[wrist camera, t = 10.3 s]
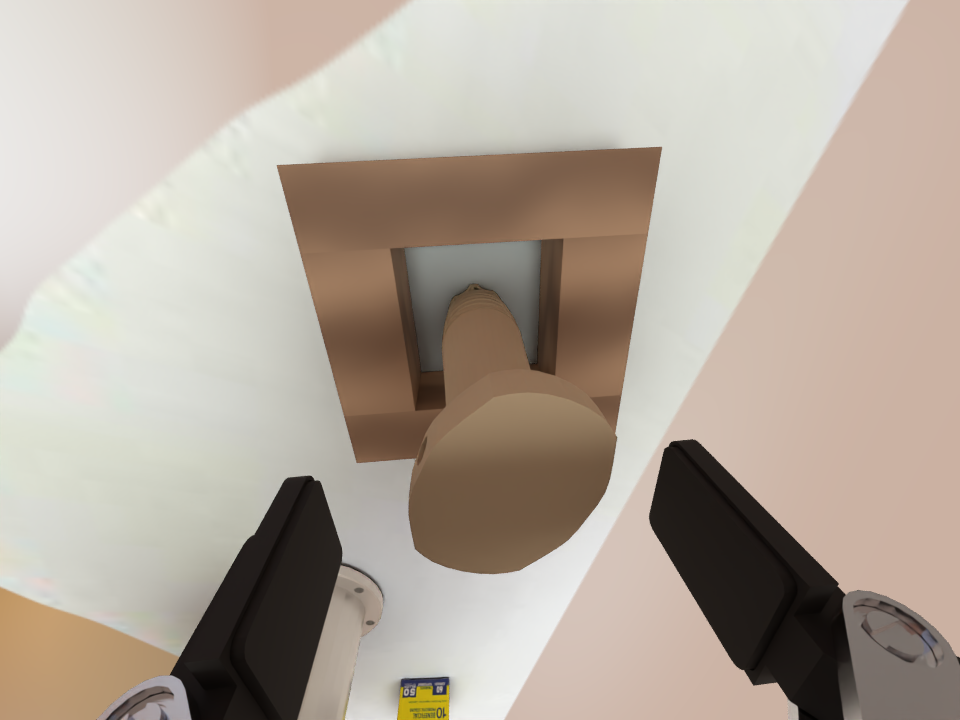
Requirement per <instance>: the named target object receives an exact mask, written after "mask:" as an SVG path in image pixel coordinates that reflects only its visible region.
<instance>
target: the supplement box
mask: <svg viewBox="0 0 960 720" xmlns="http://www.w3.org/2000/svg"><path fill="white" fill-rule="evenodd" d="M397 720H449V678H441V679H418V680H410V679H402V680H401V689H400V699H399V708H398V717H397Z"/></svg>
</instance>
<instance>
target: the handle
mask: <svg viewBox="0 0 960 720" xmlns="http://www.w3.org/2000/svg"><path fill="white" fill-rule="evenodd" d="M442 357H443V369H444V382H445V396H446V407H445V408H444V409H443V410H442V411H441V412H440V413H439V415H438V416H437V417H436V418H435V419H434V420H433V422H432V423H431V425H430V427H429V428H428V430H427V432H426V433H425V436H424V439H423V441H422V444H421V447H420V450H419V452H418V455H417V458H416V460H415V464H414V467H413V470H412V477H411V484H410V493H409V521H410V527H411V532H412V537H413V542H414V546H415V549H416V550H417V551H418V552H419V553H421V554H422V555H423V556H424V557H426V558H428V559H429V560H431V561H432V562H435V563H437V564H440V565H442V566H445V567H448V568H452V569H456V570H459V571H464V572H471V573H479V574H499V573H508V572H514V571H519V570H521V569H523V568H525V567H526V566H528V565H530V564H531V563H533V562H535V561H537V560H538V559H540V558H542V557H543V556H545V555H547V554H548V553H550V552H552V551H553V550H555V549H557V548H558V547H559V546H561V545H562V544H563V543H565V542H566V541H567V540H569V539H570V538H571V537H572V535H573V534H574V533H575V532H576V531H577V530H578V529H579V528H580V527H581V525H582V524H583V523H584V521H585V520H586V519H587V518H588V516H589V515H590V514H591V513H592V511H593V510H594V509H595V507H596V506H597V505H598V503H599V502H600V500H601V498H602V497H603V495H604V494H605V492H606V489H607V486H608V483H609V480H610V476H611V471H612V466H613V460H614V454H615V448H616V441H617V437H616V435H615V433H614V432H613V430H612V428H611V427H610V425H609V423H608V422H607V420H606V419H605V417H604V415H603V414H602V412H601V411H600V409H599V408H598V406H597V405H596V404H595V403H594V402H593V401H592V400H591V398H590V397H589V396H588V395H587V394H586V393H585V392H584V391H582V390H581V389H579V388H578V387H576V386H575V385H574V384H572V383H570V382H568V381H566V380H564V379H561V378H559V377H557V376H554V375H551V374H547V373H543V372H540V371H534V370H531V369H530V366H529V362H528V359H527V355H526V351H525V348H524V344H523V340H522V337H521V333H520V331H519V328H518V326H517V324H516V322H515V319H514V317H513V315H512V314H511V312H510V311H509V309H508V308H507V307H506V305H505V304H504V303H503V302H502V301H501V299H500V297H499V296H498V294H497V293H496V292H494V291H493V290H492V291H488V290H484V289H482V288H481V287H479V285H478V284H471V285H470V286H469V288H468V289H467V290H466V291H465V292H463V293H462V294H460V295H458V296H454V297H453V298H452V300H451V302H450V305H449V311H448V314H447V317H446V320H445V325H444V331H443V340H442Z"/></svg>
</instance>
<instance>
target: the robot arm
mask: <svg viewBox="0 0 960 720" xmlns="http://www.w3.org/2000/svg"><path fill="white" fill-rule="evenodd" d="M649 520H650V524H651V527H652V529H653V531H654V533H655V534H656V536H657V538H658V539H659V541H660V542H661V544H662V545H663V547H664V549H665V551H666V552H667V554H668V556H669V557H670V559H671V561H672V562H673V564H674V566H675V567H676V569H677V571H678V572H679V574H680V576H681V577H682V579H683V581H684V582H685V584H686V585H687V587H688V589H689V591H690V592H691V594H692V595H693V597H694V599H695V600H696V602H697V604H698V605H699V607H700V608H701V610H702V612H703V614H704V615H705V617H706V618H707V620H708V622H709V624H710V625H711V627H712V629H713V630H714V632H715V634H716V635H717V637H718V639H719V640H720V642H721V643H722V645H723V647H724V648H725V650H726V652H727V653H728V655H729V657H730V658H731V660H732V661H733V663H734V664H735V665H736V666H737V667H738V668H740V669H741V670H744V671H745V672H746V674H747V676H748V677H749V679H750V681H751V682H752V684H753V685H761V684H768V683H776V682H777V683H778V684H779V686H780V687H781V689H782V690H783V692H784V693H785V695H786V696H787V698H788V718H789V720H960V658H959V657H957V656H956V655H955V654H954V652H953V650H952V648H951V646H950V645H949V643H948V642H947V641H946V640H945V639H944V637H943V636H942V635H941V634H940V633H939V632H938V631H937V630H936V628H934V627H933V626H932V625H931V624H930V623H929V622H927V621H926V620H925V619H924V618H923V617H921V616H920V615H919V614H917V613H916V612H914V611H912V610H911V609H909V608H908V607H906V606H905V605H903V604H901V603H899V602H897V601H895V600H893V599H890V598H889V597H887V596H884V595H880V594H877V593H874V592H871V591H861V590H857V591H852V592H849V593H848V594H847V595H845V593H843V592H842V590H841V589H840V588H839V587H838V582H837V581H836V580H835V579H834V578H833V577H832V576H831V575H830V574H829V573H828V572H827V571H826V570H825V569H824V568H823V567H822V566H821V565H820V564H819V563H818V562H817V561H816V560H815V559H814V558H813V557H812V556H811V555H810V554H809V553H808V552H807V551H806V550H805V549H804V548H803V547H802V546H801V545H800V544H799V543H798V542H797V541H796V540H795V539H794V538H793V537H792V536H791V535H790V534H789V533H788V532H787V531H786V530H785V529H784V528H783V527H782V526H781V525H780V524H779V523H778V522H777V521H776V520H775V519H774V518H773V517H772V516H771V515H770V514H769V513H768V512H767V511H766V510H765V509H764V508H763V507H762V506H761V505H760V504H759V503H758V502H757V501H756V500H755V499H754V498H753V497H752V496H751V495H750V494H749V493H748V492H747V491H746V490H745V489H744V487H742V485H741V484H740V483H738V482H737V480H736V479H735V478H734V477H733V476H732V475H731V474H730V473H729V472H728V471H727V470H726V469H725V468H724V467H723V466H722V465H721V464H720V463H719V462H718V461H717V460H716V459H715V458H714V457H713V456H712V455H711V454H710V453H709V452H708V451H707V450H706V449H705V448H704V447H703V446H702V445H701V444H700V443H699V442H697V441H696V440H693V439H692V440H682V441H673V442H671V443H670V444H669V447H667V448H665V449H664V452H663V457H662V461H661V466H660V470H659V474H658V479H657V484H656V488H655V492H654V496H653V501H652V506H651V510H650V514H649ZM341 562H342V547H341V544H340V541H339V538H338V535H337V531H336V528H335V525H334V522H333V519H332V516H331V513H330V510H329V507H328V503H327V500H326V497H325V494H324V491H323V488H322V485H321V483H320V481H315V480H314V478H313V477H312V476H301V477H290V478H287V479H286V480H285V481H284V482H283V484H282V486H281V488H280V490H279V491H278V493H277V495H276V497H275V499H274V500H273V502H272V504H271V506H270V508H269V509H268V511H267V513H266V515H265V517H264V518H263V520H262V522H261V524H260V526H259V528H258V529H257V531H256V533H255V535H253V536H251V537H250V538H249V539H247V541H246V542H245V544H244V545H243V547H242V548H241V550H240V552H239V554H238V555H237V557H236V559H235V561H234V562H233V564H232V566H231V568H230V570H229V571H228V573H227V575H226V577H225V578H224V580H223V582H222V584H221V585H220V587H219V589H218V591H217V592H216V594H215V596H214V598H213V600H212V601H211V603H210V605H209V607H208V608H207V610H206V612H205V614H204V615H203V617H202V619H201V621H200V622H199V624H198V626H197V628H196V629H195V631H194V633H193V635H192V637H191V638H190V640H189V642H188V644H187V645H186V647H185V649H184V651H183V652H182V654H181V656H180V658H179V659H178V661H177V663H176V665H175V667H174V668H173V670H172V672H171V674H170V675H169V676H158V677H154V678H152V679H149V680H146V681H143V682H142V683H140V684H138V685H137V686H135V687H133V688H131V689H130V690H128V691H127V692H126V693H124V694H123V695H122V696H121V697H119V698H118V699H117V700H116V701H114V702H113V703H112V704H111V705H110V706H109V707H108V708H107V709H106V710H105V711H104V712H103V713H102V714H101V715H100V716H99V717H98V718H97V719H96V720H345V715H346V710H347V705H348V700H349V695H350V689H351V684H352V679H353V674H354V669H355V664H356V659H357V654H358V649H359V644H360V639H361V637H363V636H364V635H366V634H367V633H369V632H370V631H371V630H372V629H373V628H374V627H375V626H376V625H377V624H378V622H379V620H380V619H381V614H382V609H383V597H382V594H381V591H380V590H379V588H378V587H377V585H376V584H375V583H374V582H373V581H372V580H371V579H370V578H368V577H367V576H365V575H364V574H362V573H360V572H358V571H356V570H354V569H352V568H349V567H346V566H342V565H341Z"/></svg>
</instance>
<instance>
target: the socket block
mask: <svg viewBox="0 0 960 720" xmlns="http://www.w3.org/2000/svg"><path fill="white" fill-rule="evenodd" d="M661 150H662V147H649V148H628V149H607V150H586V151H565V152H544V153H523V154H502V155H481V156H460V157H439V158H418V159H397V160H376V161H355V162H334V163H313V164H292V165H277V168H278V172H279V176H280V180H281V183H282V187H283V191H284V194H285V198H286V202H287V206H288V209H289V213H290V217H291V220H292V224H293V228H294V232H295V235H296V239H297V243H298V246H299V250H300V254H301V258H302V261H303V265H304V269H305V272H306V276H307V280H308V284H309V287H310V291H311V295H312V298H313V302H314V306H315V310H316V313H317V317H318V321H319V324H320V328H321V332H322V336H323V339H324V343H325V347H326V350H327V354H328V358H329V361H330V365H331V369H332V373H333V376H334V380H335V384H336V387H337V391H338V395H339V399H340V402H341V406H342V410H343V413H344V417H345V421H346V425H347V428H348V432H349V436H350V439H351V443H352V447H353V451H354V454H355V458H356V462H357V463H363V462H375V461H388V460H400V459H412V458H417V455H418V452H419V450H420V447H421V444H422V441H423V439H424V436H425V433H426V432H427V430H428V428H429V427H430V425H431V423H432V422H433V420H434V419H435V418H436V417H437V416H438V415H439V413H440V412H441V411H442V410H443V409H444V408H445V407H446V396H445V382H444V371H434V372H421V367H420V360H419V353H418V345H417V338H416V331H415V324H414V316H413V309H412V302H411V295H410V287H409V280H408V273H407V266H406V258H405V251H404V248H408V247H425V246H442V245H459V244H476V243H494V242H511V241H528V240H541V269H540V299H539V329H538V358H537V364H530V365H529V366H530V369H531V370H534V371H540V372H543V373H547V374H551V375H554V376H557V377H559V378H561V379H564V380H566V381H568V382H570V383H572V384H574V385H575V386H576V387H578V388H579V389H581V390H582V391H584V392H585V393H586V394H587V395H588V396H589V397H590V398H591V400H592V401H593V402H594V403H595V404H596V405H597V406H598V408H599V409H600V411H601V412H602V414H603V415H604V417H605V419H606V420H607V422H608V423H609V425H610V427H611V428H612V430H613V432H614V433H615V431H616V425H617V419H618V412H619V406H620V400H621V394H622V388H623V382H624V376H625V370H626V364H627V358H628V351H629V345H630V339H631V333H632V327H633V321H634V315H635V309H636V303H637V297H638V291H639V284H640V278H641V272H642V266H643V260H644V254H645V248H646V242H647V236H648V230H649V223H650V217H651V211H652V205H653V199H654V193H655V187H656V181H657V175H658V169H659V163H660V156H661Z"/></svg>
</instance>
